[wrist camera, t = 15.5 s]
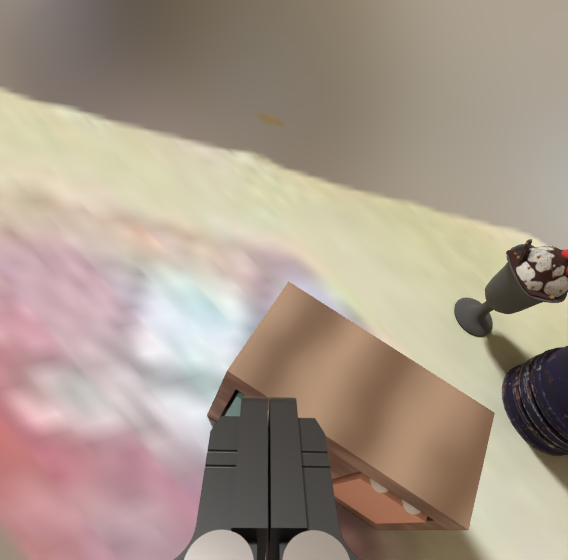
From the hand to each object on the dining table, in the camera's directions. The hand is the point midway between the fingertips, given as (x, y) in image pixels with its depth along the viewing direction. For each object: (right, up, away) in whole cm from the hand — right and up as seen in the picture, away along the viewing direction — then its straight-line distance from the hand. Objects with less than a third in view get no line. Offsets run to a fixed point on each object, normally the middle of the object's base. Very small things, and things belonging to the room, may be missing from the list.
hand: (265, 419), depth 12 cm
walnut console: (+3, -10, +26) cm, 27 cm away
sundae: (+23, -1, +37) cm, 44 cm away
